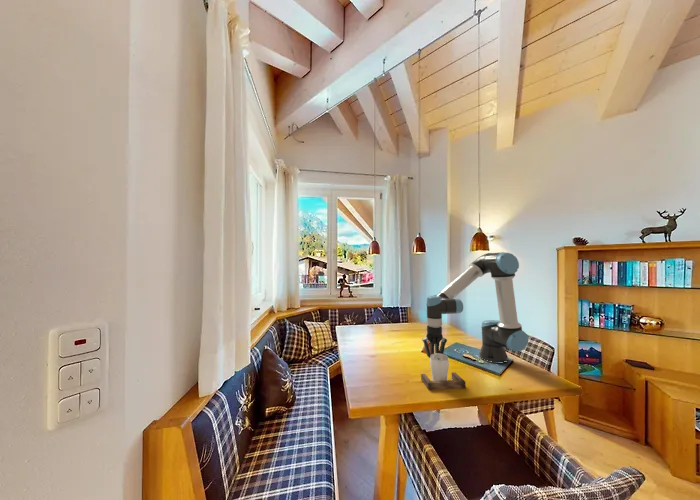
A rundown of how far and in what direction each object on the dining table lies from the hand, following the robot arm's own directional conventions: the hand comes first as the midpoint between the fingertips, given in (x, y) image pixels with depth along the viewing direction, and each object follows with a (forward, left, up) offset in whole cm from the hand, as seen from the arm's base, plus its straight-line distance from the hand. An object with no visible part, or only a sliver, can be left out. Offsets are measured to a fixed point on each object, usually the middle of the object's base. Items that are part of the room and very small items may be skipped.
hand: (434, 370), depth 134 cm
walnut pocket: (0, +9, -3) cm, 9 cm away
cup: (0, +5, -3) cm, 6 cm away
